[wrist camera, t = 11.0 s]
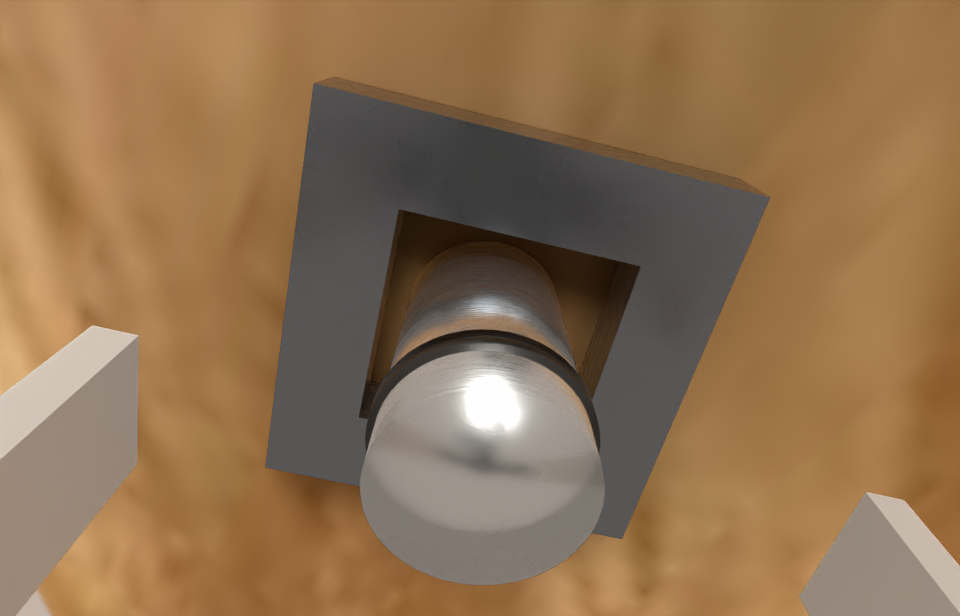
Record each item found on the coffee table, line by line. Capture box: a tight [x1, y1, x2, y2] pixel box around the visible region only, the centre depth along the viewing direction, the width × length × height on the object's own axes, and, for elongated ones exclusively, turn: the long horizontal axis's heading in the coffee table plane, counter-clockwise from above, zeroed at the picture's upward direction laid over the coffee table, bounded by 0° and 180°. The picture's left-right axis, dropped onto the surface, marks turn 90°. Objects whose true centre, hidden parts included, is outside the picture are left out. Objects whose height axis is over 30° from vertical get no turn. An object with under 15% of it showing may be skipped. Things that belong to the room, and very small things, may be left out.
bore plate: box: [265, 77, 770, 539], centre depth 18 cm, size 11×11×2 cm
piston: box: [360, 241, 605, 585], centre depth 15 cm, size 5×5×8 cm
